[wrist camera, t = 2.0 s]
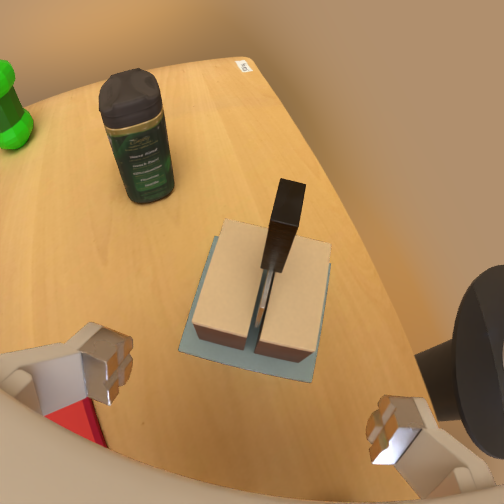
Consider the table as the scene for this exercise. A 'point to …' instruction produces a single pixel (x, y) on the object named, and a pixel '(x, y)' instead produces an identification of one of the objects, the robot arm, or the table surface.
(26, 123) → the plastic bottle
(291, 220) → the knife
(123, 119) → the coffee jar
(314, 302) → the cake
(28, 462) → the robot arm
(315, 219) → the table surface
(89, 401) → the red board with handle
